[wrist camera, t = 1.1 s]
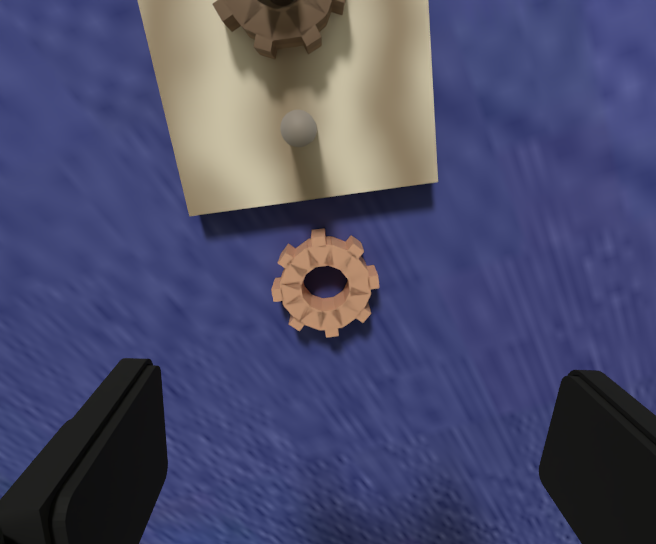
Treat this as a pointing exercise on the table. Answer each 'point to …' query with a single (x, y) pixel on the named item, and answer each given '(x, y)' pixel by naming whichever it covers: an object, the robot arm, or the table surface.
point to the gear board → (293, 97)
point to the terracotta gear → (333, 309)
